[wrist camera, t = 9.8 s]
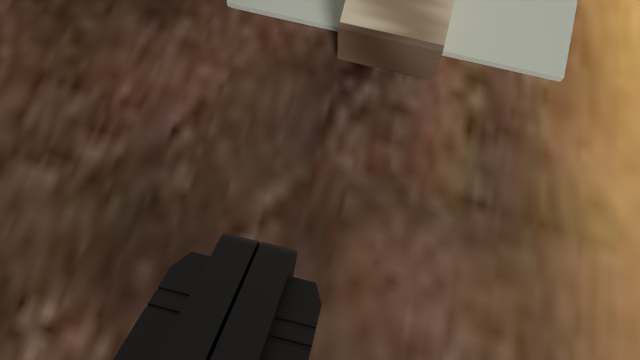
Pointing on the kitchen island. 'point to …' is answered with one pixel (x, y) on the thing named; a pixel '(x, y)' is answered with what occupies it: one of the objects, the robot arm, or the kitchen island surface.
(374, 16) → the birch block
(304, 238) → the kitchen island surface
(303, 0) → the sage mat
